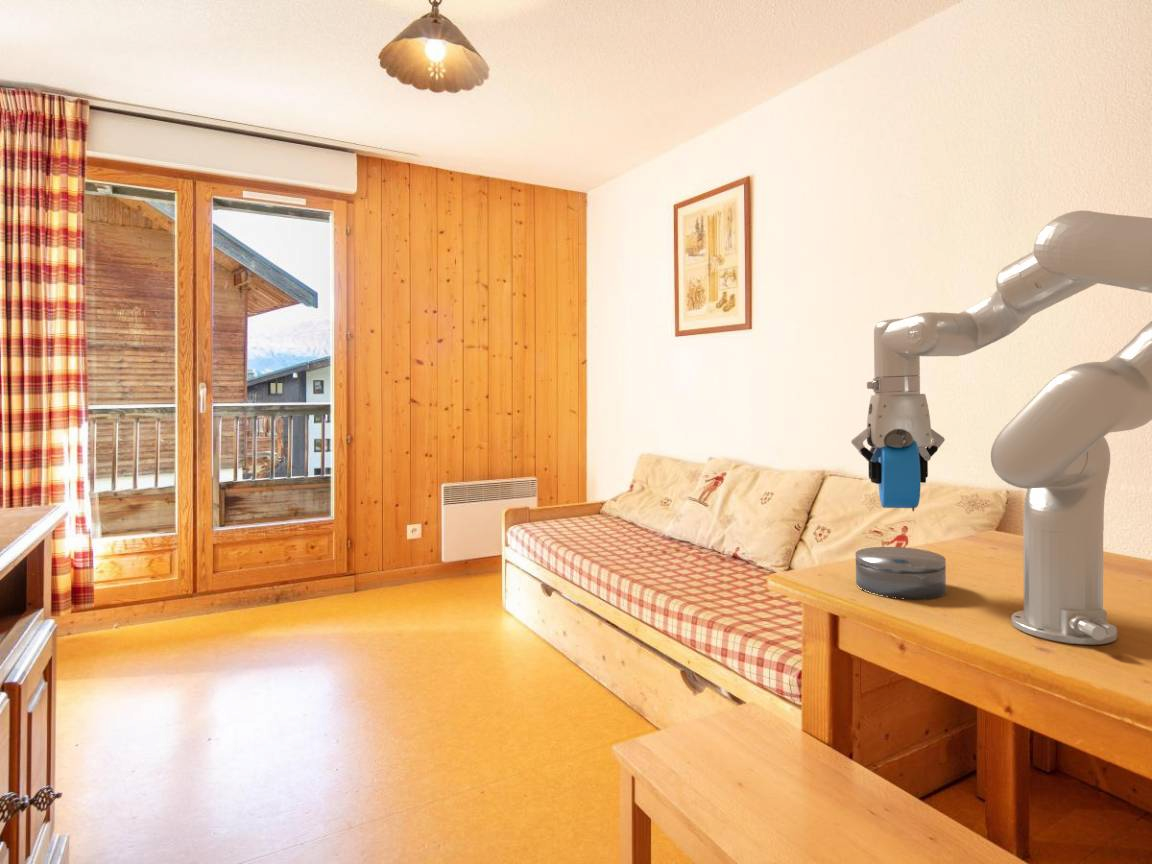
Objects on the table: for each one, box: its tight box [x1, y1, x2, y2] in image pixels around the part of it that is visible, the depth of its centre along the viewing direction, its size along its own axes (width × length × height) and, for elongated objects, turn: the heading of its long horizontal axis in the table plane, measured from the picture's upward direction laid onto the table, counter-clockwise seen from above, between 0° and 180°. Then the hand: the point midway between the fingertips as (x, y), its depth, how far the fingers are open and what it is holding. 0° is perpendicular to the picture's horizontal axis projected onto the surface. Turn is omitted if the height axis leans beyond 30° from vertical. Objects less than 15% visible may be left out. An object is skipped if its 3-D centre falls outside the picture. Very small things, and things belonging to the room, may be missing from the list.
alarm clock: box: [878, 429, 922, 512], centre depth 120 cm, size 13×6×15 cm, turn 159°
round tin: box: [855, 546, 947, 601], centre depth 120 cm, size 15×15×6 cm
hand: (898, 481), depth 120 cm, fingers closed on alarm clock, 7 cm apart
